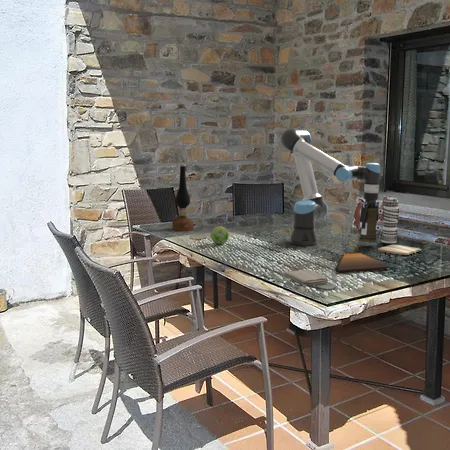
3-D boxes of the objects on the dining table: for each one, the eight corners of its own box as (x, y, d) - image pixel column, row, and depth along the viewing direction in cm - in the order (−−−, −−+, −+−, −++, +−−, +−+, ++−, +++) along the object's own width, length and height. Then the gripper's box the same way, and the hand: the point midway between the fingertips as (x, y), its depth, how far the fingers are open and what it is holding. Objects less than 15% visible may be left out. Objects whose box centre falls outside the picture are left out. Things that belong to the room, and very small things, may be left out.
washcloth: (305, 287, 233) (305, 280, 233) (282, 276, 249) (283, 270, 249) (329, 284, 238) (330, 277, 238) (305, 274, 254) (306, 267, 254)
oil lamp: (197, 234, 360) (210, 171, 356) (182, 233, 347) (196, 168, 343) (179, 229, 367) (192, 168, 363) (165, 228, 354) (178, 165, 350)
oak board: (405, 256, 289) (405, 253, 289) (377, 251, 300) (377, 248, 300) (420, 251, 300) (421, 248, 300) (393, 246, 311) (393, 244, 311)
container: (367, 242, 306) (369, 209, 303) (355, 239, 314) (358, 206, 311) (379, 241, 310) (382, 208, 307) (368, 238, 318) (370, 206, 315)
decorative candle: (394, 244, 319) (397, 199, 315) (378, 242, 324) (381, 198, 320) (399, 241, 327) (402, 198, 322) (383, 239, 332) (385, 196, 327)
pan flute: (338, 274, 254) (387, 271, 262) (338, 267, 254) (387, 263, 261) (313, 262, 278) (359, 258, 285) (314, 255, 277) (359, 252, 284)
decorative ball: (226, 246, 308) (227, 228, 306) (208, 245, 310) (208, 227, 308) (230, 242, 318) (230, 225, 316) (212, 242, 320) (212, 224, 318)
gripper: (366, 194, 297) (363, 237, 301) (387, 191, 312) (384, 232, 316) (354, 192, 303) (351, 234, 307) (375, 190, 317) (372, 230, 321)
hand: (368, 233), depth 311 cm, fingers closed on container, 8 cm apart
